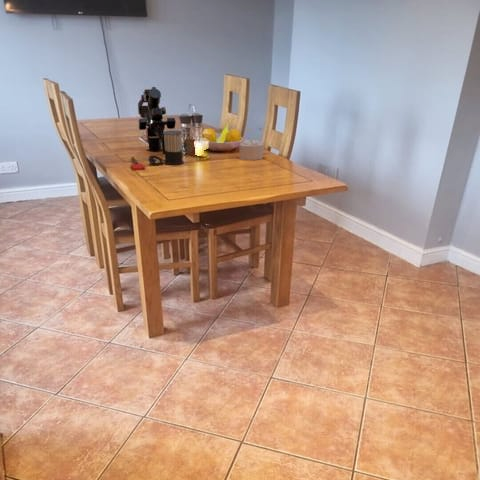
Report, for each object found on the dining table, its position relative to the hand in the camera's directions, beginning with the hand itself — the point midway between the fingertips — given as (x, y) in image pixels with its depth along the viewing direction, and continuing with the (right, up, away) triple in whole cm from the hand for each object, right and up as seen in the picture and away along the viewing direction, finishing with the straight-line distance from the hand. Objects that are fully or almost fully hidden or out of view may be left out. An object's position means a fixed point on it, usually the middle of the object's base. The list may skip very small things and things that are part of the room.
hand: (160, 138), depth 233 cm
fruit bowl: (+30, +5, +27) cm, 41 cm away
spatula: (-11, -16, -8) cm, 21 cm away
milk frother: (+4, -15, -5) cm, 16 cm away
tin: (+17, -5, +11) cm, 21 cm away
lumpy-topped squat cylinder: (+47, -7, +10) cm, 48 cm away
